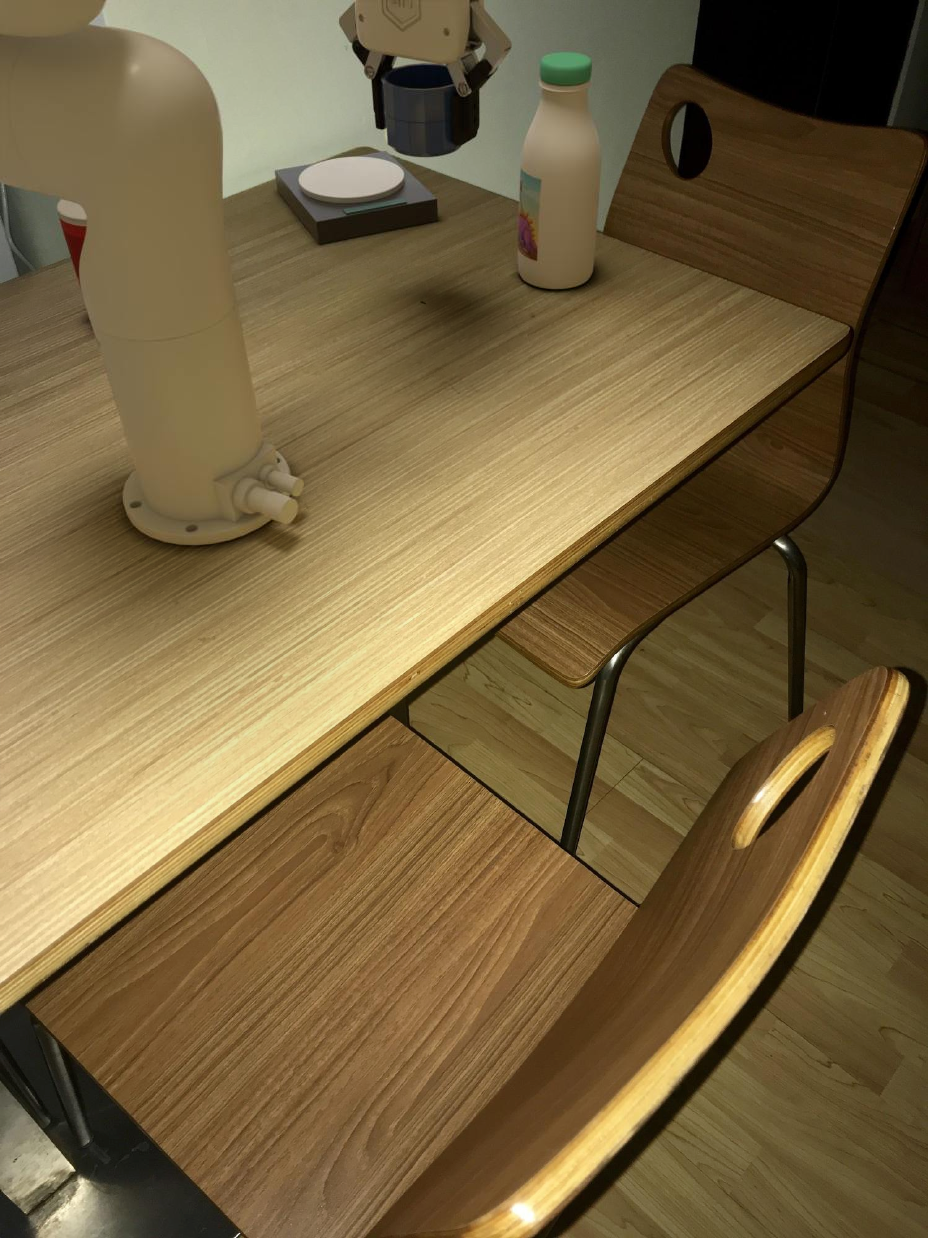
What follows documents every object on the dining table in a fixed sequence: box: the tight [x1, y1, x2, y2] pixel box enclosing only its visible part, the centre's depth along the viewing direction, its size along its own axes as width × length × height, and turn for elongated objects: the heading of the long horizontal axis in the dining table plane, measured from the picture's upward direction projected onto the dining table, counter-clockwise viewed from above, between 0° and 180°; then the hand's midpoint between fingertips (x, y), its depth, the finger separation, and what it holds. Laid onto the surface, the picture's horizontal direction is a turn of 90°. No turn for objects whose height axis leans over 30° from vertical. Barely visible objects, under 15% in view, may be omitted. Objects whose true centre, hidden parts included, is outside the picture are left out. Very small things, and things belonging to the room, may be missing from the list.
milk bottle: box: [517, 51, 602, 290], centre depth 95 cm, size 8×8×20 cm
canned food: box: [56, 198, 87, 289], centre depth 93 cm, size 8×8×11 cm
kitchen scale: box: [274, 150, 439, 245], centre depth 114 cm, size 16×14×3 cm
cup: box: [381, 62, 462, 158], centre depth 86 cm, size 7×7×6 cm
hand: (426, 131), depth 87 cm, fingers closed on cup, 7 cm apart
